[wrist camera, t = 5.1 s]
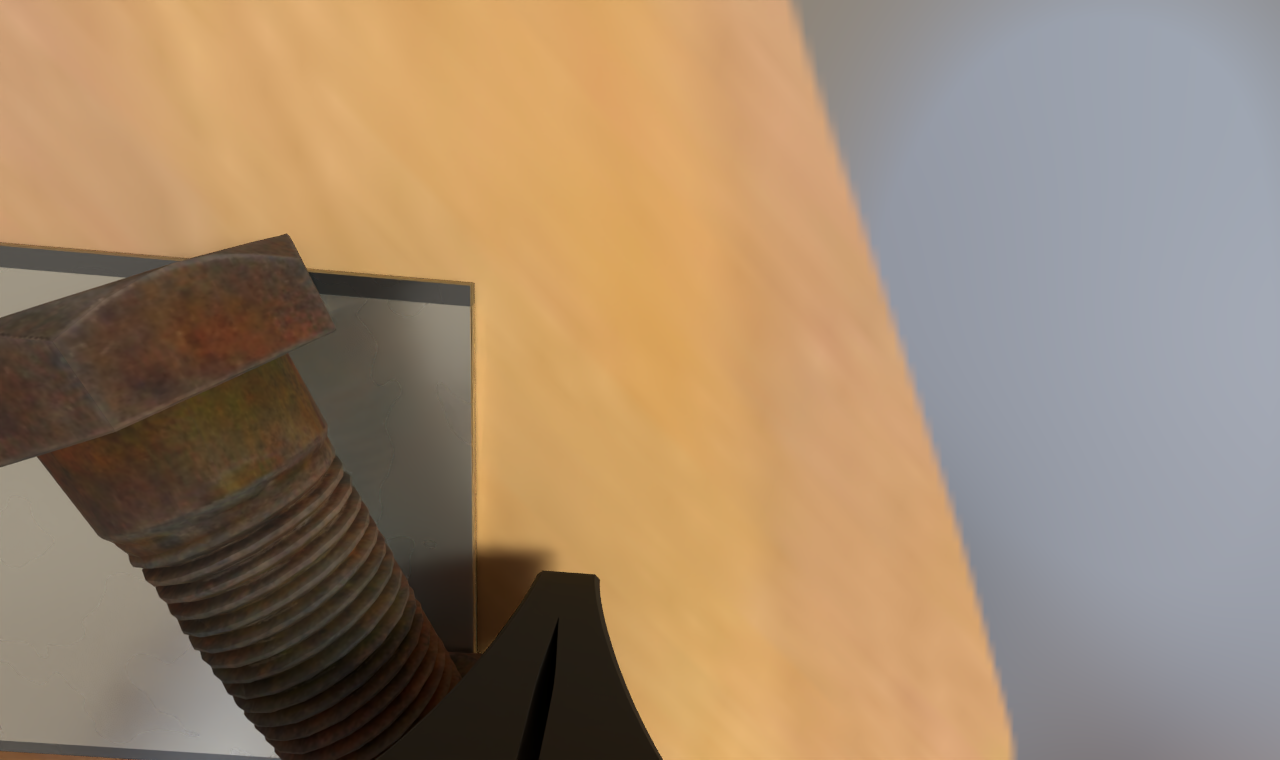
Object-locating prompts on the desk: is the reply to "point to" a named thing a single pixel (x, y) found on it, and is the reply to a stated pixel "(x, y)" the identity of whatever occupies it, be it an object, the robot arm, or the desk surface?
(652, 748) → the robot arm
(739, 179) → the desk surface
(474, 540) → the flat rectangular plate
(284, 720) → the bolt
